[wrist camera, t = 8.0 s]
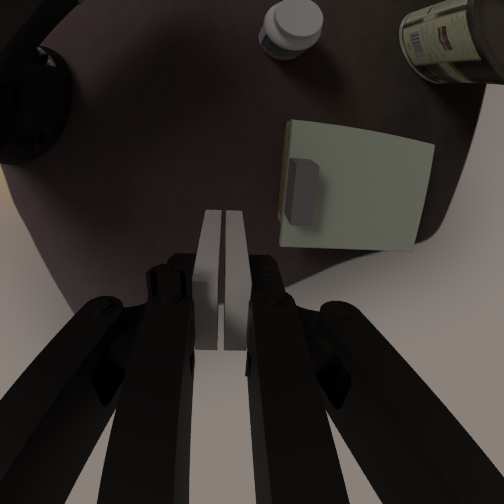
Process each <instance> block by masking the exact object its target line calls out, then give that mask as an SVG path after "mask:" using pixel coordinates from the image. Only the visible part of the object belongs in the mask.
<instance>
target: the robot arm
mask: <svg viewBox="0 0 504 504" xmlns="http://www.w3.org/2000/svg"><path fill="white" fill-rule="evenodd" d="M83 1H84V0H0V163H1V164H7V165H18V164H22V163H25V162H28V161H31V160H33V159H36V158H38V157H39V156H41V155H43V154H44V153H45V152H46V151H48V150H49V149H50V148H51V147H52V145H53V144H54V143H55V142H56V140H57V139H58V137H59V136H60V134H61V132H62V131H63V128H64V126H65V124H66V121H67V118H68V115H69V112H70V107H71V100H72V83H71V77H70V73H69V70H68V68H67V65H66V63H65V62H64V60H63V59H62V57H61V56H60V55H59V54H58V53H56V52H55V51H54V50H52V49H50V48H47V47H43V46H39V45H40V44H41V43H42V41H43V40H44V39H45V38H46V37H47V36H48V35H49V33H50V32H51V31H52V30H53V29H54V28H55V27H56V26H57V25H58V24H59V23H60V22H61V21H62V20H63V19H64V17H65V16H66V15H67V14H69V13H70V12H71V11H72V10H73V9H74V8H75V7H76V6H77V5H78V4H79V5H80V4H81V3H83ZM220 241H221V210H206V211H205V216H204V220H203V225H202V230H201V235H200V240H199V245H198V250H197V254H185V253H175V254H174V255H173V256H171V257H170V258H169V259H168V262H167V264H161V265H157V266H154V267H152V268H151V269H149V270H148V271H147V273H146V279H147V288H148V296H149V297H148V300H147V303H145V304H142V305H138V306H133V307H126V308H124V307H123V303H122V302H121V301H120V299H118V298H115V297H112V296H100V297H97V298H94V299H92V300H90V301H89V302H87V303H86V304H85V305H84V306H83V307H82V308H81V309H80V310H79V311H78V312H77V313H76V314H75V315H74V316H73V317H72V318H71V319H70V320H69V322H68V323H67V324H66V325H65V326H64V327H63V328H62V329H61V330H60V331H59V332H58V333H57V334H56V336H55V337H54V338H53V339H52V340H51V341H50V342H49V343H48V344H47V346H46V347H45V348H44V349H43V350H42V351H41V352H40V353H39V355H38V356H37V357H36V358H35V359H34V360H33V362H32V363H31V364H30V365H29V366H28V367H27V369H26V370H25V371H24V372H23V373H22V374H21V376H20V377H19V378H18V379H17V380H16V382H15V383H14V384H13V385H12V387H11V388H10V389H9V390H8V391H7V393H6V394H5V395H4V396H3V398H2V399H1V400H0V504H65V502H66V500H67V498H68V496H69V494H70V492H71V490H72V488H73V486H74V484H75V482H76V480H77V478H78V476H79V475H80V473H81V471H82V469H83V467H84V465H85V463H86V462H87V460H88V458H89V456H90V454H91V452H92V450H93V449H94V447H95V445H96V443H97V441H98V440H99V438H100V436H101V434H102V432H103V431H104V429H105V427H106V425H107V423H108V422H109V420H110V418H111V416H112V414H113V413H114V411H115V409H116V412H115V416H114V420H113V425H112V429H111V433H110V437H109V442H108V447H107V452H106V457H105V461H104V466H103V471H102V477H101V483H100V488H99V494H98V500H97V504H189V467H190V438H191V415H192V395H193V380H194V365H195V357H194V345H195V349H199V350H217V339H218V302H219V273H220ZM246 348H247V362H246V373H245V376H247V378H248V393H249V409H250V423H251V437H252V452H253V466H254V480H255V493H256V504H350V503H349V499H348V495H347V491H346V487H345V483H344V479H343V475H342V471H341V467H340V463H339V459H338V455H337V451H336V447H335V444H334V440H333V436H332V432H331V428H330V425H329V421H328V417H327V413H328V414H329V416H330V418H331V419H332V421H333V423H334V424H335V426H336V428H337V429H338V431H339V433H340V434H341V436H342V438H343V439H344V441H345V443H346V444H347V446H348V448H349V449H350V451H351V453H352V454H353V456H354V458H355V459H356V461H357V463H358V464H359V466H360V467H361V469H362V471H363V473H364V474H365V476H366V477H367V479H368V481H369V482H370V484H371V486H372V487H373V489H374V490H375V492H376V494H377V495H378V497H379V498H380V500H381V502H382V503H383V504H504V477H503V476H502V475H501V473H500V472H499V471H498V469H497V468H496V467H495V466H494V464H493V463H492V462H491V461H490V459H489V458H488V457H487V456H486V454H485V453H484V452H483V451H482V449H481V448H480V447H479V446H478V445H477V443H476V442H475V441H474V440H473V439H472V437H471V436H470V435H469V434H468V432H467V431H466V430H465V429H464V428H463V427H462V425H461V424H460V423H459V422H458V420H457V419H456V418H455V417H454V416H453V415H452V413H451V412H450V411H449V410H448V409H447V407H446V406H445V405H444V404H443V403H442V402H441V400H440V399H439V398H438V397H437V396H436V395H435V394H434V393H433V391H432V390H431V389H430V388H429V387H428V385H427V384H426V383H425V382H424V381H423V380H422V379H421V378H420V376H419V375H418V374H417V373H416V372H415V371H414V370H413V368H412V367H410V365H409V364H408V363H407V362H406V361H405V360H404V359H403V357H402V356H401V355H400V354H399V353H398V352H397V351H396V350H395V348H394V347H393V346H392V345H391V344H390V343H389V342H388V341H387V340H386V339H385V338H384V336H383V335H382V334H381V333H380V332H379V331H378V330H377V329H376V328H375V327H374V326H373V324H372V323H371V322H370V321H369V320H368V319H367V318H366V317H365V316H364V315H363V314H362V313H361V312H360V310H359V309H357V308H356V307H355V306H353V305H351V304H349V303H347V302H342V301H330V302H326V303H324V304H323V305H322V306H321V308H320V312H319V311H313V310H308V309H304V308H301V307H299V306H297V305H296V304H295V301H294V299H293V297H292V296H291V295H289V294H288V293H286V292H285V288H284V285H283V282H282V278H281V275H280V272H279V269H278V265H277V262H276V260H275V259H273V258H272V257H271V256H270V255H251V254H248V252H247V244H246V237H245V229H244V222H243V214H242V211H230V210H226V230H225V259H224V350H245V351H246ZM116 407H117V408H116ZM325 409H326V410H325ZM326 411H327V413H326Z"/></svg>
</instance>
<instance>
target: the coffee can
mask: <svg viewBox="0 0 504 504" xmlns="http://www.w3.org/2000/svg"><path fill="white" fill-rule="evenodd" d="M399 40H400V46H401V49H402V52H403V54H404V56H405V58H406V60H407V62H408V63H409V65H410V66H411V67H412V68H413V69H414V71H415V72H416V73H417V74H418V75H420V76H421V77H422V78H424V79H426V80H428V81H430V82H432V83H438V84H441V83H486V84H501V85H504V0H446V1H443V2H440V3H438V4H435V5H432V6H429V7H427V8H424V9H421V10H419V11H415V12H412V13H410V14H408V15H407V16H406V17H405V18H404V19H403V21H402V22H401V25H400V29H399Z"/></svg>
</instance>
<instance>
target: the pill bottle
mask: <svg viewBox="0 0 504 504" xmlns="http://www.w3.org/2000/svg"><path fill="white" fill-rule="evenodd" d="M322 24H323V15H322V12H321V10H320V8H319V7H318V6H317V5H316V4H315V3H314V2H312V1H311V0H283V1H282V2H280V3H278V4H276V5H274V6H273V7H271V8H270V9H269V11H268V12H267V13H266V15H265V18H264V20H263V23H262V25H261V28H260V31H259V42H260V45H261V47H262V49H263V50H264V51H265V52H266V53H267V54H268V55H270V56H271V57H273V58H276V59H280V60H289V59H293V58H296V57H297V56H299V55H301V54H302V53H303V52H305V51H306V50H307V49H308V48H310V47H311V46H313V45H314V44H315V43H316V42H317V40H318V39H319V37H320V34H321V29H322Z"/></svg>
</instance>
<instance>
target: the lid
mask: <svg viewBox="0 0 504 504" xmlns="http://www.w3.org/2000/svg"><path fill="white" fill-rule="evenodd" d="M434 147H435V145H433V144H429V143H425V142H421V141H417V140H413V139H408V138H404V137H399V136H395V135H390V134H385V133H380V132H375V131H369V130H364V129H358V128H352V127H346V126H340V125H333V124H326V123H318V122H310V121H302V120H292V119H291V128H290V139H289V150H288V161H287V171H286V181H285V191H284V201H283V211H282V220H281V230H280V239H279V244H280V247H306V248H334V249H360V250H386V251H412V250H413V247H414V243H415V239H416V235H417V231H418V227H419V223H420V219H421V215H422V210H423V206H424V201H425V197H426V192H427V187H428V182H429V177H430V171H431V165H432V159H433V153H434Z"/></svg>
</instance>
